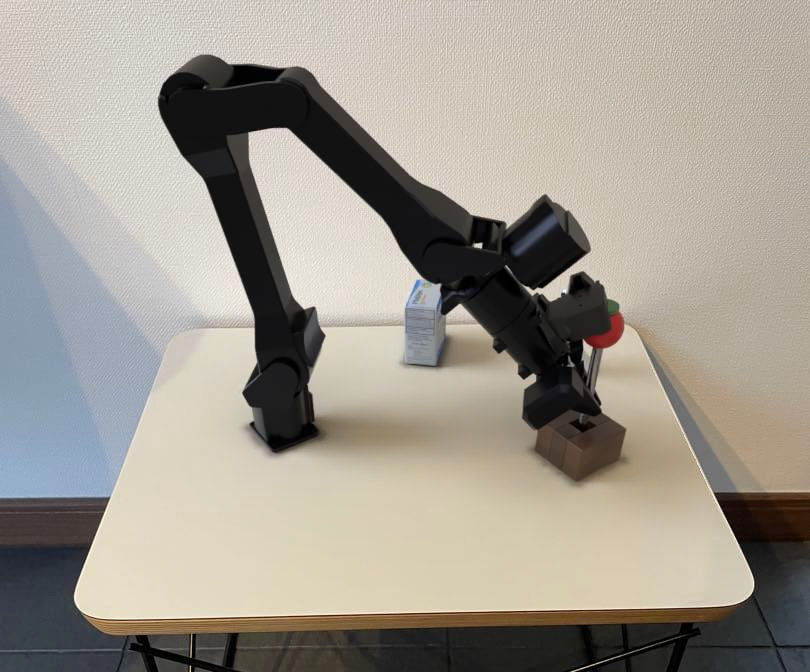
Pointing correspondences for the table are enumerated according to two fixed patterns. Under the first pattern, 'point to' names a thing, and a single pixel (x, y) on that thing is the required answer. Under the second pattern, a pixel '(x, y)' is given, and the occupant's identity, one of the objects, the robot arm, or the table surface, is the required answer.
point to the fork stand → (580, 444)
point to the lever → (598, 345)
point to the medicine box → (424, 324)
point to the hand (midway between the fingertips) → (598, 410)
